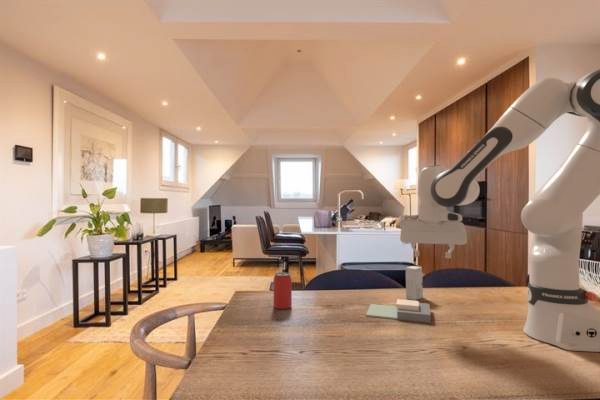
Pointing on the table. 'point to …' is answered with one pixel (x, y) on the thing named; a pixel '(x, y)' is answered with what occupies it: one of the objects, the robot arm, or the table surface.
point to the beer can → (282, 290)
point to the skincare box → (414, 283)
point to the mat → (382, 311)
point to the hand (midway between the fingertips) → (432, 257)
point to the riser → (416, 314)
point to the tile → (407, 304)
